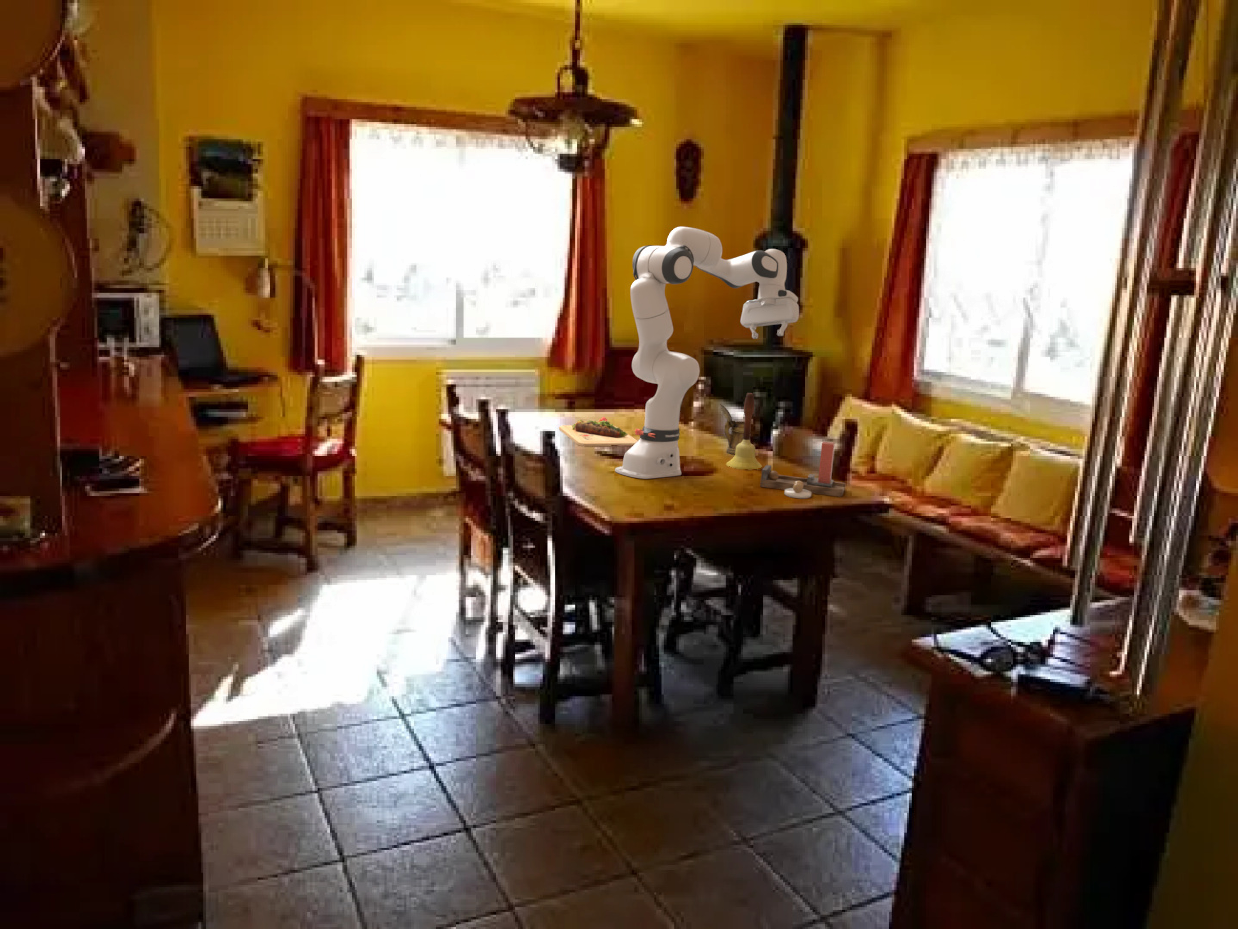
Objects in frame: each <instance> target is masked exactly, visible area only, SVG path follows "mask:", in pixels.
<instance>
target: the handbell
mask: <svg viewBox="0 0 1238 929" xmlns="http://www.w3.org/2000/svg"><path fill="white" fill-rule="evenodd" d="M754 411H755V397H754V393H752V392H747V393H746V396H745V399H744V404H743V414H744V422H745V423H744V435H743V441H742V442H741V443H739V444H738V445H737V446H736V451H735V455H733V457H732V458H731V459H730V460H729V461H727V462H726V463H725V465H726V466H727V467H729V466H730V467H729V468H731V467H732V469H735V468H736V469H737V470H743V469H748V470H747V471H753V470H752V469H757V470H759V469H758V468H761V467H762V468H763V465H762V464H761V463H760V462H759V461H758V460H757V459H756V447H755V445H754V444H752V443H751V432H750V428H751V427H752V426H751V424H752V418H753V415H754ZM749 439H750V440H749ZM762 468H761V469H762ZM736 469H735V470H736Z"/></svg>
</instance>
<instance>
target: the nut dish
mask: <svg viewBox="0 0 1238 929" xmlns="http://www.w3.org/2000/svg"><path fill="white" fill-rule="evenodd" d="M803 487H804V484H803V482H802V481H796V482H795V483H794V485H793V488H788V489H785V490H784V496H786V497H789V498H792V499H809V498H811V497H812V493H811V491H809V490H805V489H803Z"/></svg>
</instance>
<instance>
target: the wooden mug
mask: <svg viewBox="0 0 1238 929" xmlns="http://www.w3.org/2000/svg"><path fill="white" fill-rule="evenodd" d="M719 409H720V411H721V413H722V414H723V416H724V417H725V418H726V421H725V424H724V427H723V429H724V430H723V432H724V434H725V437H726V439H727V442H728V446H727V448H726V452H727V454H730V455H734V454H735V451H736V446H737V445H738V444H739V443H741V442H742V441H743V435H744V423H745V421H742V420H741V421H739V420H738V421H737V420H732V419H733V418H732V415H731V412H730V411H729V410H728V409H727V408H726V407H725V406H724V405H723V404H721V403H720V405H719ZM729 431H730V432H729ZM751 432H752V431H751V427H750V433H751ZM749 440H750V441H751V438H750V439H749Z"/></svg>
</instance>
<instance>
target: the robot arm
mask: <svg viewBox="0 0 1238 929" xmlns="http://www.w3.org/2000/svg"><path fill="white" fill-rule="evenodd" d="M666 240H667V241H666V244H665V245H644V246H641V247H639V248H638V249H637V250H636V251H635V253H634V254H633V257H632V269H633V270H632V271H633V272H632V275H633V277H634V281H633V282H632V284H631V286H630V289H629V290H630V291H629V292H630V302H631V309H632V313H633V317H634V322H635V325H636V329H637V334H638V341H639V343H638V350H637V352H636V353H635V354H634V356H633V358H632V361H631V369H632V372H633V374H634V375H635V377H637V378H639V379H640V380H643V381H644V382H647V383H651V384H657V389H656V392H655V394H654V396H653V397H650V398H649V399H648V400H647V401H646V403H645V410H644V425H643V427H642V429H639V428H634V429H635V430H634V434H635V435H637V436H639V439H638V441H637V442H636V443H635V444H634V445H633V446H630V448H629V449H628V450H627V451H626V452H625V453H624V454H623V455H624V456H623V459H622V466H617V467H615V469H614V471H615V473H617V474H619V475H623V476H627V477H632V478H637V479H645V480H647V479H657V478H665V477H675V476H676V477H678V476H681V475H682V470H681V466H680V464H681V463H680V448H679V440H680V436H681V435H680V428H679V425H680V424H679V422H680V414H681V412H680V411H681V406H682V402H683V399H684V397H685V395H686V393H687V391H688V390H689V389H690V388H691V387H692V386H694V384H696V383H697V381H698V379H699V376H700V364H699V362H698V361H697V359H695V358H694V357H692V356H690V355H688V354H686V353H681V352H677V351H670V350H669V349H668V340H669V339H670V338H671V337H672V335H673V332H674V326H673V321H672V317H671V312H670V308H669V304H668V300H667V298H666V293H665V291H666V290H665V289H666V285H667V284H670V285H679V284H683V283H685V282H687V281H688V280H689V279H690V277H691V275H692V272H693V270H694V267H696V268H697V269H699V270H700V271H702V272H704V273H706V274H709V275H711V276H713V277H714V278H715V277H716V278H717V279H719V280H721V281H723V282H724V283H725V284H726V285H727V286H728V287H730V288H731V289H739V288H741V287H744V286H746V285H748V284H753V283H755V282H757V283H759V284H758V285H759V286H758V293H757V299H753V300H747V301H746V302H745V303H744V304H743V306H742V312H741V316H740V324H741V326H742V327H745V328H746V329H749V330H750V332H751V338H752V339H753V340H754V339H758V338H759V333H757V331H756V330H757V327H765V326H773V325H775V326H776V325H781V327H780V328H779V329H777V333H776V335H777V336H778V337H783V336H784V334H785V330H786V329H787V327H788V324H791V323H796V322H798V320H799V317H800V316H799V315H800V306H799V303H798V301H799V297H798V296H797V295H796V294H795V293H794V292H792V291H791V290H787V289H786V286H785V283H786V280H787V273H788V272H787V270H788V263H787V262H788V260H787V256H786V255H785V254H786V253H784V252H783V251H782V250H779V249H776V248H768V249H766V250H765V251H764V250H761V249H759V250H754V251H751V252H748V253H746V254H743V255H739V256H737V257H733V258H729V259H724V258H722V255H723V246H722V242H721V239H720V238H719V237H718V236H716V235H715V234H713V233H711V232H708V231H706V230H703V229H699V228H695V227H690V226H689V227H688V226H677V227H675V228H673V230H671V231H670V232H669V235H668V236H667V239H666Z"/></svg>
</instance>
